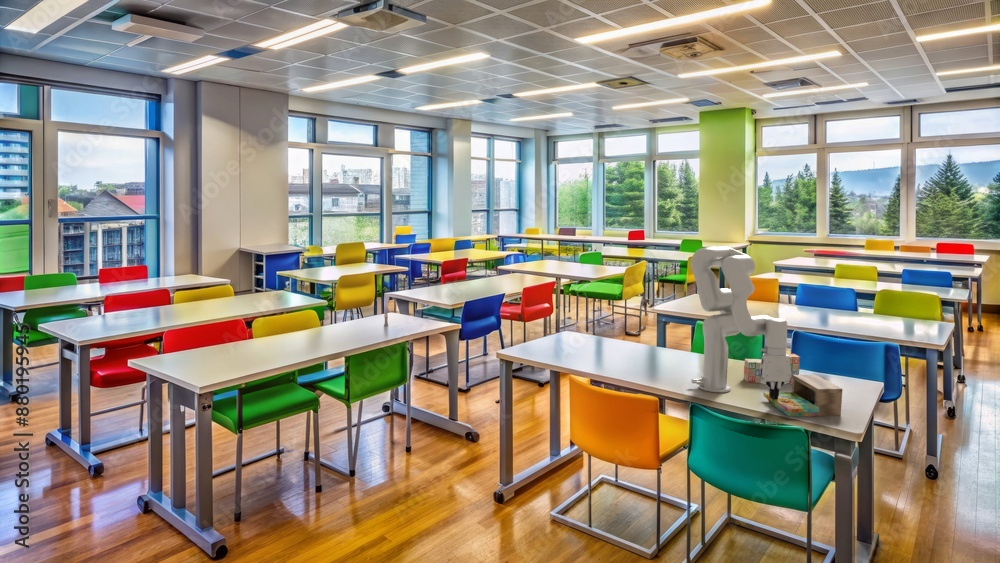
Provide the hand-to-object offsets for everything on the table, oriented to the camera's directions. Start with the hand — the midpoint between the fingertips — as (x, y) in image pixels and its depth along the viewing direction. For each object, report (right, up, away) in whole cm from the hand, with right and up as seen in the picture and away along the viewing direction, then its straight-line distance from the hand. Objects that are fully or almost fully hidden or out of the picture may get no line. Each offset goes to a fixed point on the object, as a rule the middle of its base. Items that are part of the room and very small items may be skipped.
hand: (773, 398), depth 230 cm
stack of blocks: (+15, 0, +36) cm, 39 cm away
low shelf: (+16, -4, +1) cm, 17 cm away
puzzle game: (+6, -5, 0) cm, 8 cm away
